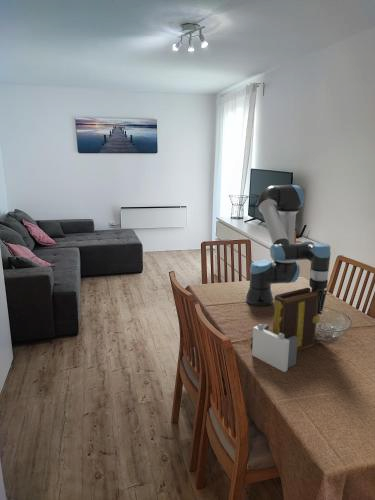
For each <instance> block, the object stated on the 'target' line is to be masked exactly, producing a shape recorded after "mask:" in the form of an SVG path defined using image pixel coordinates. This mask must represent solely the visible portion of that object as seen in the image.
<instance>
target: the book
mask: <svg viewBox="0 0 375 500" xmlns="http://www.w3.org/2000/svg"><path fill="white" fill-rule="evenodd" d="M318 293H319V292H317V291H313V292H311V287H304V288H300V289H297V290H296V289H295V290H291V291H288V292H283V293H279V294H276V295H275V296H274V301H273V303H274V307H273V322H272V323H273V324H272V325H273V326H272V333H274V334H276V335H278V334H279V333H282V334H284V335H285V337H284V338H285V339H287V338H290V337H293V336H296V337H298V341H297V352H299V351H301V350H304V349H308V348H310V347H313V346H315V337H316V328H315V327H316V324H317V323H318V322H319V323H320V318H321V317H320V314H319V315H318V314H317V304H318Z"/></svg>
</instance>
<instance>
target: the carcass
mask: <svg viewBox="0 0 375 500" xmlns="http://www.w3.org/2000/svg"><path fill="white" fill-rule="evenodd" d="M269 326H270V325H269V324H267V323H264V324H261V323H258V325H255V326H253V327H252V335H253V345H252V354H251V356H252V355H253V357H254V358H257V359H259V360H260V361H262V362H264V363H266V364H268V365H270V366H272V367H274V368H275V369H277V370H279V371H281V372H283V373H285V372H287V371H288V368H291V367H293V366H295V365H296V364H297V354H298V351H297V341H298V337H296V336H293V337H290V338H287V339H285V338H284V337H285V335H284V334H282V333H279V334H278V335H276V334H274V333H273V331H270V329H269V328H270V327H269Z"/></svg>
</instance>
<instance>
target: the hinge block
mask: <svg viewBox="0 0 375 500" xmlns="http://www.w3.org/2000/svg"><path fill="white" fill-rule="evenodd" d="M250 345H252V346H253V334H252V335H251V337H250Z"/></svg>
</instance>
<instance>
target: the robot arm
mask: <svg viewBox="0 0 375 500" xmlns="http://www.w3.org/2000/svg"><path fill="white" fill-rule="evenodd" d="M304 203H305V195H304V191H303V189H302V187H301V186H299V185H297V184H294V185H293V184H283V185H282V184H281V185H269V186H267V187H265V188H264V189H262V190H261V192H260V193H259V195H258V197H257V208H258V211H259V212H260V213H261V214H262V216H263V221H264V223H265V226H266V229H267V231H268V235H269V237H270V240H271V243H272V245H271V246H270V249H269V253H270V258H271V260H273V261H274V262H272V261H271V260H270V259H257V260H254V261H253V262H251V264H250V267H249V288H248V290H247V293H246V296H245V302H246V303H248V304H249V305H251V306H254V307H268V306H270V305H273V303H274V297H273V293H272V289H271V285H275V284H290V283H292V284H293V283H295V282H297V280H299V277H300V271H301V269H300V264H299V262H298V261H303V260H304V261H305V260H307V261H310V269H309V271H310V272H309V273H310V274H309V282H308V283H309V284H308V285H309V288H310V292H313V291H317V292H319V293H318V304H317V314H318V315H319V316H320V315H322V314H323V310H324V305H325V301H326V296H327V293H328V290H327V288H328V283H329V281H328V279H329V270H330V261H331V254H332V252H331V246H330V245H329V244H328V243H324V242H316V243H314V242H312V241H309V240H306V241H303V242H300V243H295V239H296V238H295V237H296V236H295V235H296V219H297V218H296V217H297V214H298V213H299V211H300V208H301V207H303V205H304ZM319 323H320V321H319V322H318V323H317V324H316V327H315V329H319Z"/></svg>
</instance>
